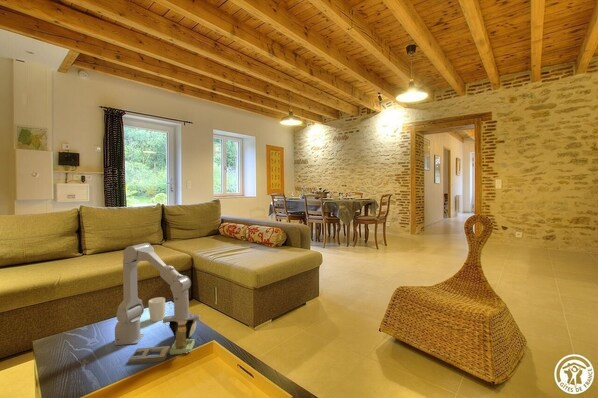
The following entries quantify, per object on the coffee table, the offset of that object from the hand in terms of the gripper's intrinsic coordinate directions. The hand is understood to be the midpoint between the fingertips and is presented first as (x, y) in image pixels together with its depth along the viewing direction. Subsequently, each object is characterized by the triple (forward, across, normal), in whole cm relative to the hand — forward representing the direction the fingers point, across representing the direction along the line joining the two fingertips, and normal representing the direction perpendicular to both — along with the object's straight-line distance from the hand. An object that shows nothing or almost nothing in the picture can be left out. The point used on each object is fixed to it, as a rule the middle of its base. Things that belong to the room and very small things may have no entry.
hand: (182, 338), depth 123 cm
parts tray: (+5, 0, 0) cm, 5 cm away
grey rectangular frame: (+5, -12, -4) cm, 13 cm away
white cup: (+5, -21, +32) cm, 39 cm away
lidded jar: (+5, -2, +11) cm, 12 cm away
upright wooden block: (+3, 0, 0) cm, 3 cm away
